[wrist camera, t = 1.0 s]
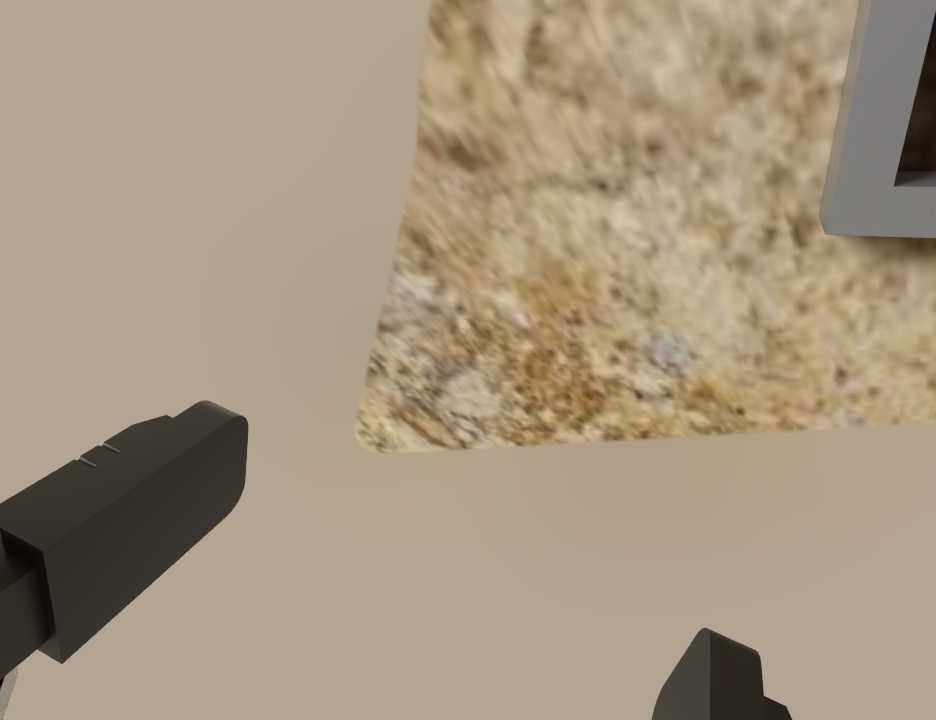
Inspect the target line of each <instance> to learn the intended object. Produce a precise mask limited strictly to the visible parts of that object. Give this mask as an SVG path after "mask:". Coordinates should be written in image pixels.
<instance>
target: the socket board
mask: <svg viewBox="0 0 936 720" xmlns="http://www.w3.org/2000/svg"><path fill="white" fill-rule="evenodd" d="M935 12H936V0H860V2H859V8H858V13H857V18H856V23H855V29H854V34H853V39H852V44H851V50H850V55H849V60H848V65H847V71H846V76H845V81H844V87H843V92H842V97H841V102H840V108H839V113H838V118H837V123H836V129H835V134H834V139H833V144H832V150H831V155H830V160H829V166H828V171H827V176H826V181H825V187H824V192H823V197H822V202H821V208H820V213H819V218H820V221H821V224H822V227H823V230H824V232H825V235H849V236H882V237H916V238H936V171H897V169H898V165H899V161H900V157H901V153H902V149H903V144H904V140H905V136H906V132H907V128H908V124H909V120H910V115H911V111H912V107H913V103H914V99H915V95H916V91H917V86H918V82H919V78H920V74H921V70H922V66H923V62H924V57H925V53H926V49H927V45H928V41H929V37H930V33H931V28H932V24H933V20H934V16H935Z"/></svg>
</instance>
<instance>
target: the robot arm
mask: <svg viewBox="0 0 936 720" xmlns="http://www.w3.org/2000/svg"><path fill="white" fill-rule="evenodd" d="M247 443H248V422H247V419H246V418H245V417H243V416H241V415H239V414H237V413H235V412H232V411H230V410H228V409H226V408H223V407H221V406H219V405H217V404H215V403H212V402H210V401H201V402H198V403H197V404H195V405H193V406H191V407H190V408H188V409H187V410H185V411H183V412H182V413H180V414H179V415H177V416H175V417H174V418H172V417H170V416H168V415H165V416H161V417H158V418H154V419H151V420H148V421H144V422H141V423H138V424H134V425H132V426H130V427H128V428H127V429H125V430H123V431H122V432H120V433H118V434H116V435H115V436H113V437H111V438H110V439H108V440H106V441H105V442H104V444H103V445H102V446H99V445H98V446H96V447H95V448H93V449H92V450H90V451H88V452H86V453H85V454H83V455H81V457H80V459H79V460H73V461H71V462H69V463H68V464H66V465H64V466H63V467H61V468H59V469H58V470H56V471H54V472H53V473H51V474H49V475H48V476H46V477H44V478H43V479H41V480H39V481H37V482H36V483H34V484H32V485H31V486H29V487H27V488H26V489H24V490H23V491H21V492H19V493H17V494H16V495H14V496H12V497H11V498H9V499H7V500H6V501H4V502H2V503H0V720H3V717H4V714H5V711H6V708H7V705H8V702H9V699H10V697H11V694H12V691H13V688H14V685H15V682H16V678H17V674H18V665H19V664H20V663H21V662H22V661H24V660H25V659H26V658H27V657H28V656H30V655H31V654H32V653H33V652H34V651H35V650H37V649H38V650H39V651H41V652H43V653H44V654H46V655H48V656H49V657H51V658H53V659H54V660H56V661H58V662H60V663H61V664H63V663H64V662H65V661H66V660H67V659H68V658H69V657H70V656H71V655H72V654H74V653H75V652H76V651H77V650H78V649H79V648H81V647H82V646H83V645H84V644H85V643H86V642H87V641H88V640H89V639H91V638H92V636H94V635H95V634H96V633H97V632H98V631H99V630H101V629H102V628H103V627H104V626H105V625H106V624H107V623H108V622H110V621H111V620H112V619H113V618H114V617H115V616H116V615H117V614H118V613H119V612H121V611H122V610H123V609H124V608H125V607H126V606H127V605H128V604H130V602H132V601H133V600H134V599H135V598H136V597H137V596H138V595H140V594H141V593H142V592H143V591H144V590H145V589H146V588H147V587H148V586H150V585H151V584H152V583H153V582H154V581H155V580H156V579H157V578H159V577H160V576H161V575H162V574H163V573H164V572H165V571H166V570H167V569H168V568H170V567H171V566H172V565H173V564H174V563H175V562H176V561H177V560H179V559H180V558H181V557H182V556H183V555H184V554H185V553H186V552H187V551H189V550H190V548H192V547H193V546H194V545H195V544H196V543H197V542H199V541H200V540H201V539H202V538H203V537H204V536H205V535H206V534H208V532H210V531H211V530H212V529H213V528H214V527H215V526H216V525H218V524H219V523H220V522H221V521H222V520H223V519H224V518H225V517H226V516H227V515H228V514H229V513H230V512H231V511H232V510H233V508H234V507H235V506H236V504H237V502H238V501H239V499H240V496H241V495H242V492H243V489H244V485H245V475H246V459H247ZM652 720H792V718H791V716H790V714H789V712H788V710H787V708H786V706H784V705H782V704H780V703H778V702H776V701H774V700H771V699H769V698H767V697H765V696H764V693H763V680H762V668H761V660H760V656H759V654H758V652H757V651H756V650H754V649H752V648H749V647H747V646H745V645H743V644H741V643H738V642H736V641H734V640H732V639H729V638H727V637H725V636H723V635H721V634H718V633H716V632H714V631H712V630H710V629H707V628H703V629H701V630H700V631H699V632H698V634H697V635H696V636H695V638H694V639H693V641H692V643H691V644H690V646H689V647H688V649H687V650H686V652H685V653H684V655H683V657H682V658H681V660H680V661H679V662H678V664H677V666H676V667H675V669H674V670H673V672H672V673H671V675H670V676H669V678H668V679H667V681H666V682H665V684H664V686H663V687H662V690H661V691H660V694H659V696H658V699H657V702H656V705H655V708H654V712H653V716H652Z"/></svg>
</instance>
